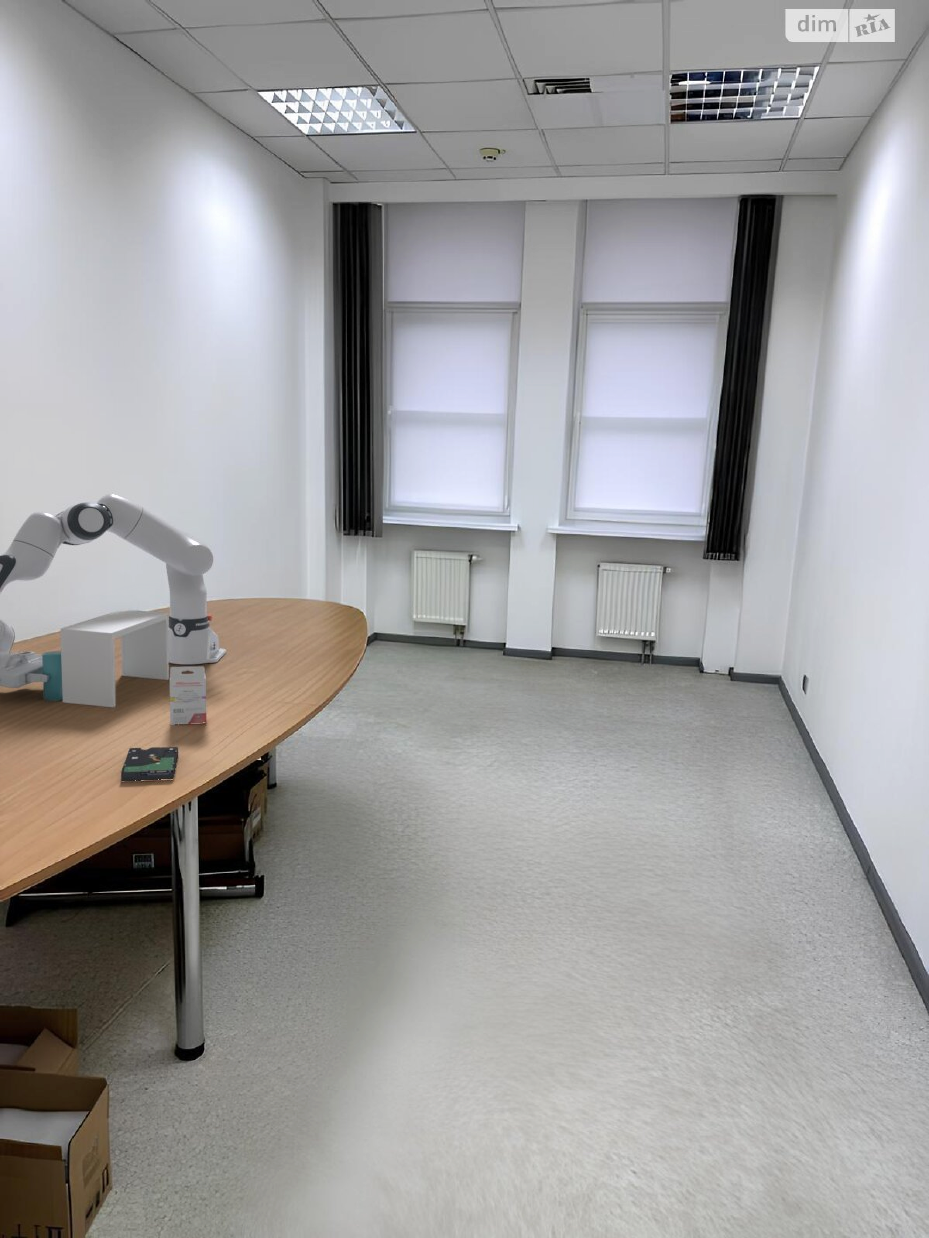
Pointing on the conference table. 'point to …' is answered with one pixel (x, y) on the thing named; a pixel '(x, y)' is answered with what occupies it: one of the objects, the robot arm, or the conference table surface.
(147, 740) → the conference table surface
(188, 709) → the ink cartridge box
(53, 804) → the conference table surface
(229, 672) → the conference table surface
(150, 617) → the arch
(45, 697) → the teal cylinder
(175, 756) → the disk drive
